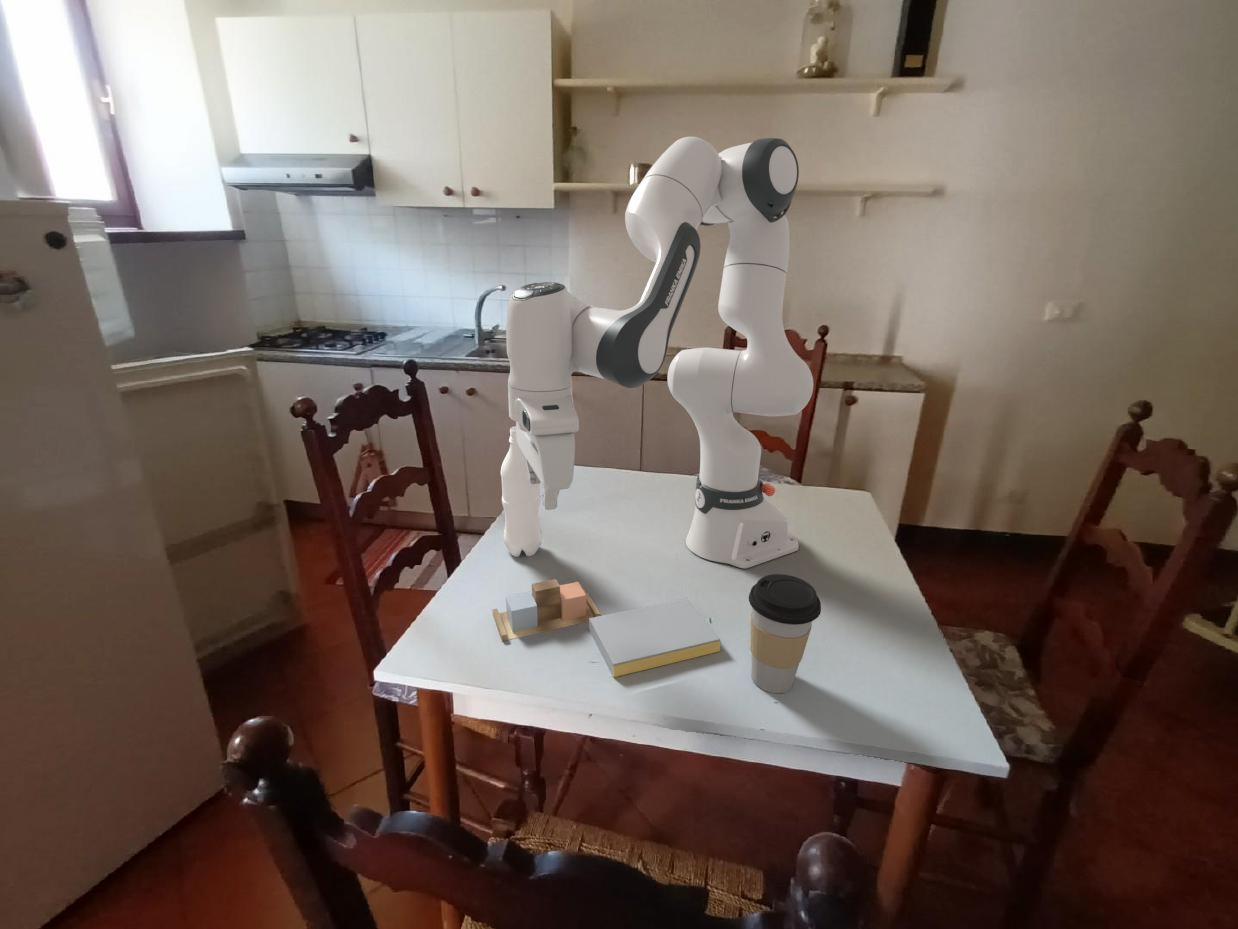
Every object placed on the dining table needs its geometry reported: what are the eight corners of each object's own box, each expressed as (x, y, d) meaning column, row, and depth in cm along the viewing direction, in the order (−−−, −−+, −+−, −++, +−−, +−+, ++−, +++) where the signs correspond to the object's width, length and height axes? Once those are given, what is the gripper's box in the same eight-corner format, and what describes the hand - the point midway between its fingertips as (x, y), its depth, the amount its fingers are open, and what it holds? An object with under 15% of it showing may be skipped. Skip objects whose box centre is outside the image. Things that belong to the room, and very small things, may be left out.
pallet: (585, 600, 104) (586, 564, 101) (600, 624, 98) (601, 587, 95) (493, 620, 98) (490, 583, 95) (502, 647, 92) (500, 608, 89)
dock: (686, 610, 100) (687, 598, 100) (719, 653, 91) (721, 639, 90) (589, 631, 95) (589, 618, 94) (613, 679, 85) (613, 665, 84)
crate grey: (531, 611, 99) (530, 591, 97) (537, 626, 95) (537, 605, 94) (506, 617, 97) (505, 596, 96) (512, 632, 94) (511, 611, 92)
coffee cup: (734, 655, 90) (744, 569, 85) (797, 658, 90) (812, 572, 85) (744, 702, 82) (757, 610, 76) (814, 705, 82) (832, 613, 76)
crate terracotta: (578, 601, 101) (578, 581, 100) (586, 615, 98) (586, 595, 96) (555, 606, 100) (554, 586, 98) (562, 621, 97) (562, 600, 95)
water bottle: (535, 562, 113) (530, 437, 104) (498, 557, 114) (491, 433, 105) (546, 544, 120) (544, 424, 110) (512, 539, 121) (506, 420, 111)
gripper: (504, 387, 92) (507, 471, 98) (534, 427, 75) (536, 527, 80) (545, 385, 95) (546, 467, 100) (583, 423, 77) (582, 521, 82)
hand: (542, 494), depth 90 cm, fingers open, 8 cm apart
